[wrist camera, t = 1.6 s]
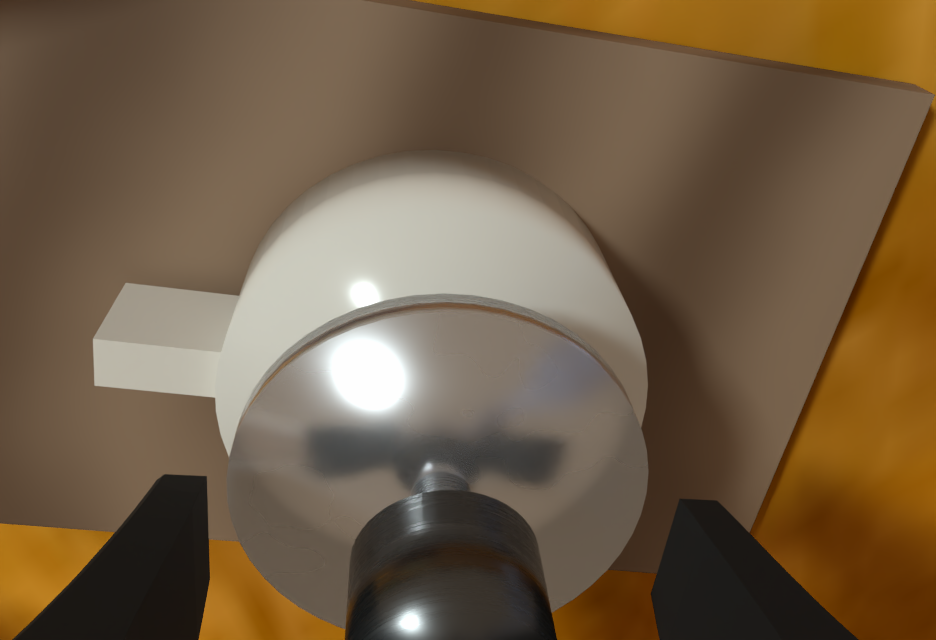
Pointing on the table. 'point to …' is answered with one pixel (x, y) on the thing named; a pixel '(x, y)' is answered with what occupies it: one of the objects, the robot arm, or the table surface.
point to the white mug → (374, 277)
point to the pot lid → (437, 470)
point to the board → (417, 129)
